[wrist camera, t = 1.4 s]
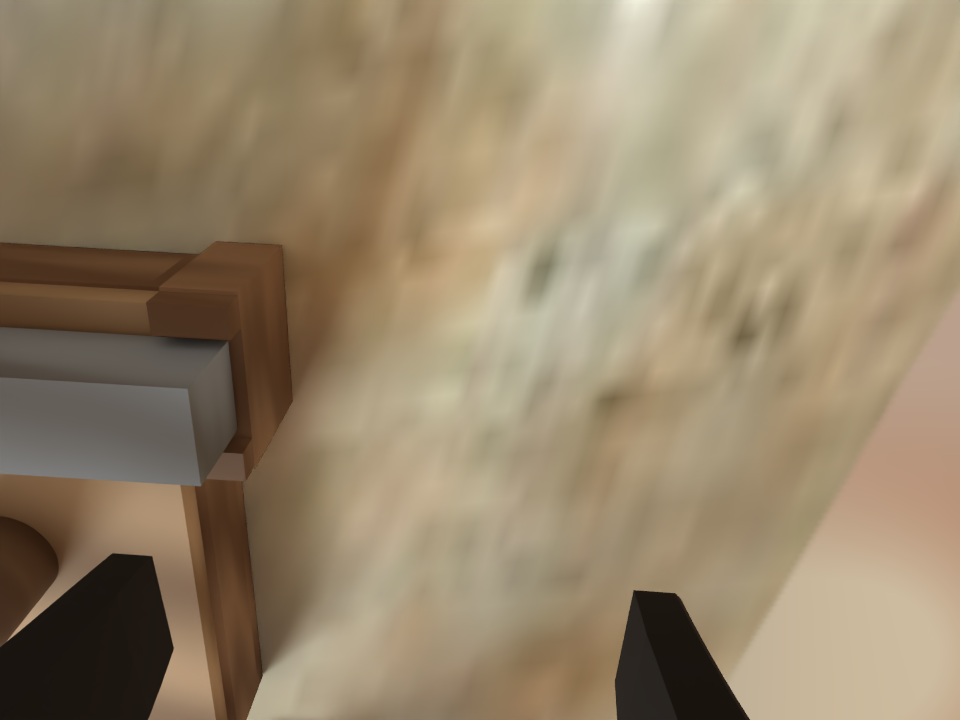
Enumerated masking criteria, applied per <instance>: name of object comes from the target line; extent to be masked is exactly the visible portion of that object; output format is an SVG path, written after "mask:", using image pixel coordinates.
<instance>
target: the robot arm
mask: <svg viewBox="0 0 960 720" xmlns="http://www.w3.org/2000/svg"><path fill="white" fill-rule="evenodd" d="M173 650H174V646H173V642H172V638H171V634H170V629H169V625H168V621H167V617H166V612H165V608H164V604H163V600H162V595H161V591H160V587H159V583H158V578H157V574H156V570H155V566H154V561H153V557H152V556H146V555H132V554H118V553H112V554H111V555H110V556H108V557H107V558H106V559H105V560H103V561H102V562H101V563H100V564H99V565H97V566H96V567H95V568H94V569H93V570H91V571H90V572H89V573H88V574H87V575H85V576H84V577H83V578H82V579H81V580H79V581H78V582H77V583H76V584H75V585H74V586H72V587H71V588H70V589H69V590H68V591H66V592H65V593H64V594H63V595H62V596H61V597H59V598H58V599H57V600H56V601H55V602H53V603H52V604H51V605H50V606H49V607H48V608H46V609H45V610H44V611H43V612H42V613H40V614H39V615H38V616H37V617H36V618H35V619H33V620H32V621H31V622H30V623H29V624H27V625H26V626H25V627H24V628H23V629H21V630H20V631H19V632H18V633H17V634H15V635H14V636H13V637H12V638H11V639H9V640H8V641H7V642H6V643H4V644H3V645H2V646H1V647H0V720H148V719H149V717H150V714H151V711H152V709H153V706H154V703H155V701H156V698H157V695H158V693H159V690H160V688H161V685H162V682H163V679H164V676H165V673H166V670H167V668H168V665H169V662H170V659H171V656H172V653H173ZM615 690H616V707H617V720H750V719H749V718H748V716H747V715H746V713H745V711H744V710H743V708H742V707H741V705H740V703H739V702H738V700H737V699H736V697H735V695H734V694H733V692H732V690H731V689H730V687H729V685H728V684H727V682H726V680H725V679H724V677H723V675H722V674H721V672H720V670H719V668H718V667H717V665H716V663H715V662H714V660H713V658H712V656H711V655H710V653H709V651H708V649H707V647H706V646H705V644H704V642H703V640H702V638H701V637H700V635H699V633H698V631H697V629H696V627H695V626H694V624H693V622H692V620H691V618H690V616H689V614H688V612H687V610H686V608H685V606H684V604H683V602H682V600H681V599H680V598H679V597H678V596H677V595H676V594H675V593H663V592H649V591H635V590H634V591H633V596H632V601H631V606H630V611H629V616H628V621H627V625H626V630H625V635H624V640H623V645H622V650H621V655H620V659H619V664H618V669H617V674H616V679H615Z"/></svg>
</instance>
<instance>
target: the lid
mask: <svg viewBox="0 0 960 720" xmlns="http://www.w3.org/2000/svg"><path fill="white" fill-rule="evenodd" d="M158 292H159V291H149V290H133V289H116V288H99V287H83V286H66V285H49V284H32V283H16V282H0V327H8V328H24V329H41V330H57V331H74V332H90V333H107V334H123V335H140V336H151V332H150V325H149V319H148V312H147V306H146V302H147V301H148V300H149V299H150V298H152V297H153V296H154V295H155V294H157V293H158ZM156 337H166V336H156ZM112 553H118V554H132V555H146V556H152V557H153V561H154V566H155V570H156V574H157V578H158V583H159V587H160V591H161V595H162V600H163V604H164V608H165V612H166V617H167V621H168V625H169V629H170V634H171V638H172V642H173V646H174V650H173V653H172V656H171V659H170V662H169V665H168V668H167V670H166V673H165V676H164V679H163V682H162V685H161V688H160V690H159V693H158V695H157V698H156V701H155V703H154V706H153V709H152V711H151V714H150V717H149V719H148V720H228V718H227V711H226V704H225V697H224V690H223V683H222V676H221V669H220V662H219V655H218V648H217V640H216V633H215V626H214V619H213V612H212V605H211V598H210V591H209V584H208V577H207V570H206V563H205V556H204V549H203V541H202V534H201V527H200V520H199V513H198V506H197V499H196V492H195V486H187V485H171V484H156V483H140V482H124V481H108V480H93V479H77V478H61V477H46V476H30V475H14V474H0V647H1V646H2V645H3V644H4V643H6V642H7V641H8V640H9V639H11V638H12V637H13V636H14V635H15V634H17V633H18V632H19V631H20V630H21V629H23V628H24V627H25V626H26V625H27V624H29V623H30V622H31V621H32V620H33V619H35V618H36V617H37V616H38V615H39V614H40V613H42V612H43V611H44V610H45V609H46V608H48V607H49V606H50V605H51V604H52V603H53V602H55V601H56V600H57V599H58V598H59V597H61V596H62V595H63V594H64V593H65V592H66V591H68V590H69V589H70V588H71V587H72V586H74V585H75V584H76V583H77V582H78V581H79V580H81V579H82V578H83V577H84V576H85V575H87V574H88V573H89V572H90V571H91V570H93V569H94V568H95V567H96V566H97V565H99V564H100V563H101V562H102V561H103V560H105V559H106V558H107V557H108V556H110V555H111V554H112Z"/></svg>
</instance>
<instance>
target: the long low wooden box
mask: <svg viewBox="0 0 960 720" xmlns="http://www.w3.org/2000/svg"><path fill="white" fill-rule="evenodd" d="M0 282H16V283H32V284H49V285H66V286H83V287H99V288H116V289H133V290H149V291H159V292H158V293H157V294H155V295H154V296H153V297H152V298H150V299H149V300H148V301H147V302H146V306H147V312H148V319H149V325H150V332H151V336H166V337H172V338H189V339H205V340H222V341H228V344H229V354H230V363H231V372H232V382H233V391H234V400H235V410H236V419H237V428H238V430H237V431H236V433H235V434H234V436H233V438H232V439H231V441H230V442H229V444H228V445H227V447H226V448H225V450H224V451H223V453H222V455H221V456H220V458H219V459H218V461H217V462H216V464H215V465H214V467H213V468H212V470H211V472H210V473H209V475H208V476H207V478H206V479H205V481H204V482H203V484H202V486H195V492H196V499H197V506H198V513H199V520H200V527H201V534H202V541H203V549H204V556H205V563H206V570H207V577H208V584H209V591H210V598H211V605H212V612H213V619H214V626H215V633H216V640H217V648H218V655H219V662H220V669H221V676H222V683H223V690H224V697H225V704H226V711H227V718H228V720H246V719H247V717H248V714H249V711H250V709H251V706H252V703H253V700H254V698H255V695H256V692H257V690H258V687H259V684H260V682H261V679H262V676H263V674H262V665H261V655H260V646H259V637H258V627H257V618H256V609H255V600H254V590H253V581H252V572H251V563H250V553H249V544H248V535H247V526H246V516H245V507H244V498H243V489H242V481H246V480H247V478H248V477H249V475H250V473H251V471H252V469H255V468H256V466H257V464H258V462H259V461H260V459H261V457H262V455H263V453H264V452H265V450H266V448H267V446H268V444H269V443H270V441H271V439H272V437H273V435H274V434H275V432H276V430H277V428H278V426H279V425H280V423H281V421H282V419H283V417H284V415H285V414H286V412H287V410H288V408H289V406H290V405H291V403H292V401H293V400H292V386H291V371H290V356H289V342H288V327H287V313H286V298H285V284H284V269H283V254H282V245H267V244H250V243H233V242H215V243H213V244H212V245H211V246H210V247H208V248H207V249H206V250H205V251H203V252H202V253H201V254H200V255H197V254H180V253H163V252H146V251H130V250H113V249H96V248H79V247H62V246H45V245H28V244H11V243H0Z"/></svg>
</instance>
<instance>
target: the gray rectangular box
mask: <svg viewBox="0 0 960 720" xmlns="http://www.w3.org/2000/svg"><path fill="white" fill-rule="evenodd" d="M237 430H238V428H237V419H236V410H235V400H234V391H233V382H232V372H231V363H230V354H229V344H228V341H222V340H205V339H189V338H172V337H156V336H140V335H123V334H107V333H90V332H74V331H57V330H41V329H24V328H8V327H0V474H14V475H30V476H46V477H61V478H77V479H93V480H108V481H124V482H140V483H156V484H171V485H187V486H202V484H203V482H204V481H205V479H206V478H207V476H208V475H209V473H210V472H211V470H212V468H213V467H214V465H215V464H216V462H217V461H218V459H219V458H220V456H221V455H222V453H223V451H224V450H225V448H226V447H227V445H228V444H229V442H230V441H231V439H232V438H233V436H234V434H235V433H236V431H237Z"/></svg>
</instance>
